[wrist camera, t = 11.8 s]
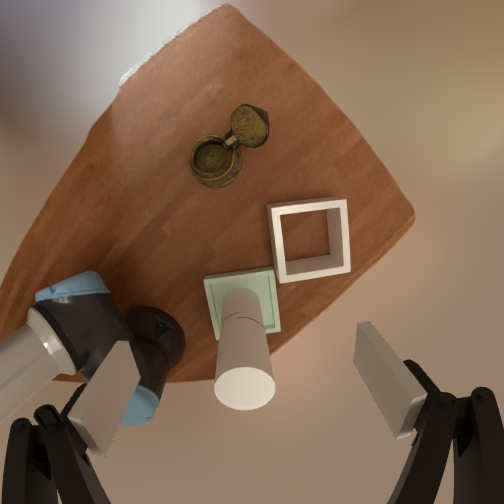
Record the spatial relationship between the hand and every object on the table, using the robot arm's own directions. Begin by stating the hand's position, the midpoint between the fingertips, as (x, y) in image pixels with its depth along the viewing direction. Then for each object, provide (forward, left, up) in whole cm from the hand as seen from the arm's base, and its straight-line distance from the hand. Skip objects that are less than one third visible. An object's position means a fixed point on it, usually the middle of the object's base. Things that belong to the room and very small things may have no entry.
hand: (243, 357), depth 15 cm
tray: (-1, -14, -39) cm, 41 cm away
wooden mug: (0, +14, -39) cm, 41 cm away
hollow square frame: (+12, -2, -39) cm, 40 cm away
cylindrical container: (-2, -14, -38) cm, 40 cm away
